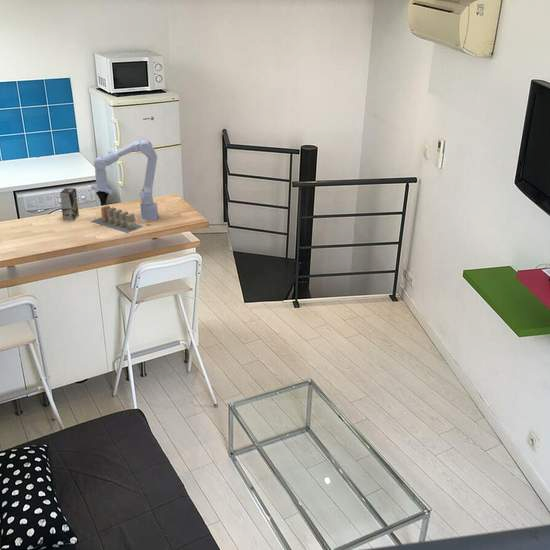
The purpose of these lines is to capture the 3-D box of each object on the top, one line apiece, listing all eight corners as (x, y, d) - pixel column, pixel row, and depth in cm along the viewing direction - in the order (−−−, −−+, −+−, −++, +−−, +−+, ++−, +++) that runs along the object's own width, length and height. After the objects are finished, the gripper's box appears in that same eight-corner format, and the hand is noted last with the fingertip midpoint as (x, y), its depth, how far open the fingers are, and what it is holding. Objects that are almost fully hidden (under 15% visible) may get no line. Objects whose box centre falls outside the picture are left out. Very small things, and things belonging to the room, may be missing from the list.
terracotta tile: (102, 221, 342) (100, 207, 338) (108, 219, 345) (107, 205, 341) (104, 222, 340) (103, 208, 337) (111, 220, 344) (109, 206, 340)
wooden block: (120, 227, 335) (119, 213, 331) (126, 224, 338) (125, 210, 335) (123, 228, 334) (121, 214, 330) (129, 225, 337) (128, 211, 334)
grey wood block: (108, 223, 339) (107, 209, 336) (114, 221, 343) (113, 207, 339) (110, 224, 338) (109, 210, 335) (117, 221, 342) (115, 208, 338)
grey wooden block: (114, 225, 337) (113, 211, 333) (120, 222, 340) (119, 209, 337) (117, 226, 336) (115, 212, 332) (123, 223, 339) (121, 209, 336)
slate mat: (90, 222, 341) (90, 221, 341) (106, 215, 350) (106, 215, 350) (127, 233, 328) (127, 233, 328) (143, 227, 337) (143, 226, 337)
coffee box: (74, 221, 342) (71, 193, 334) (62, 221, 342) (59, 193, 335) (79, 215, 350) (76, 188, 343) (68, 215, 350) (64, 187, 343)
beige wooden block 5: (126, 229, 333) (125, 215, 329) (132, 226, 336) (131, 212, 332) (129, 230, 332) (128, 215, 328) (135, 227, 335) (134, 213, 332)
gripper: (86, 179, 333) (88, 203, 339) (105, 184, 326) (107, 208, 332) (96, 176, 339) (98, 199, 345) (115, 181, 332) (117, 205, 338)
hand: (103, 204), depth 339 cm, fingers closed
